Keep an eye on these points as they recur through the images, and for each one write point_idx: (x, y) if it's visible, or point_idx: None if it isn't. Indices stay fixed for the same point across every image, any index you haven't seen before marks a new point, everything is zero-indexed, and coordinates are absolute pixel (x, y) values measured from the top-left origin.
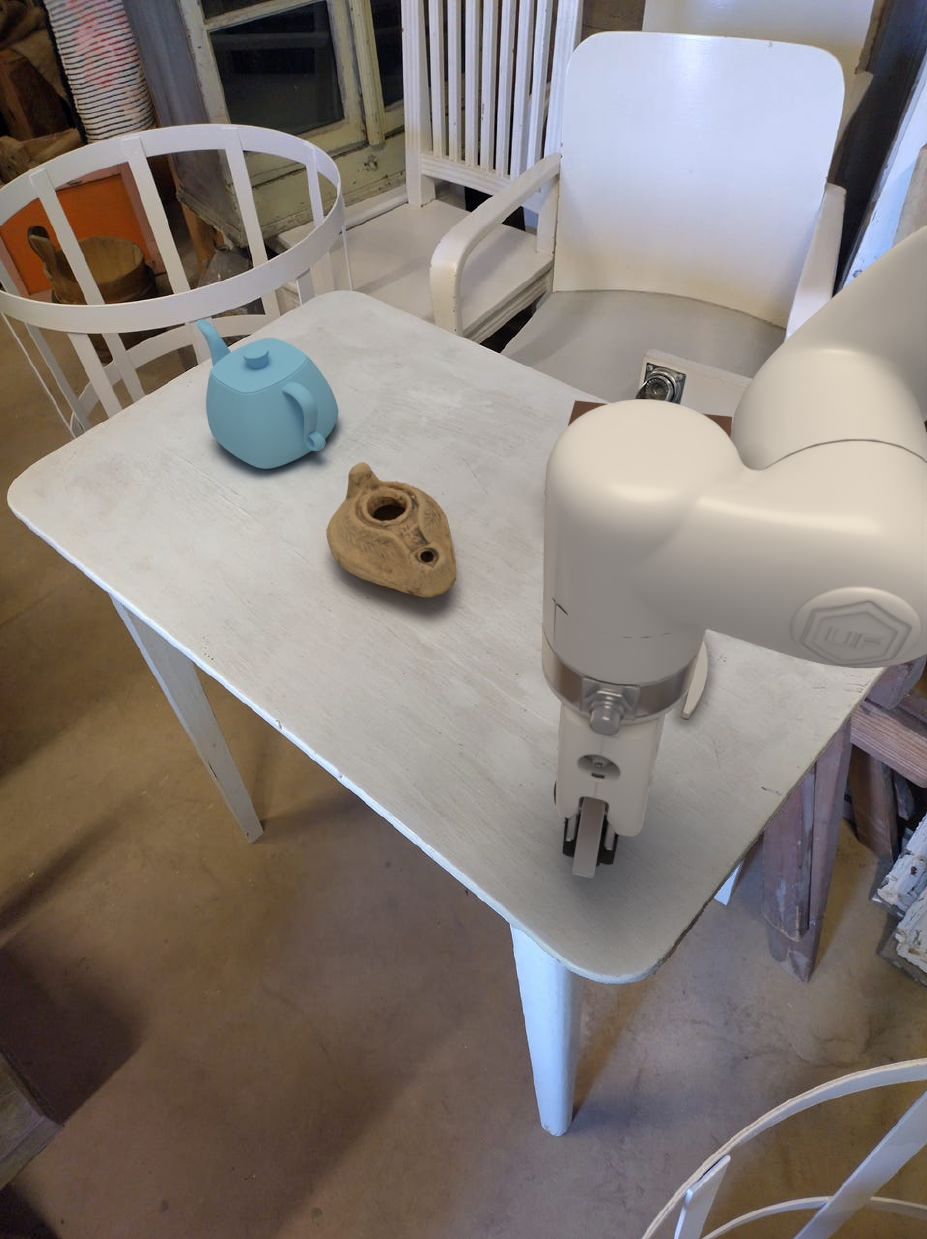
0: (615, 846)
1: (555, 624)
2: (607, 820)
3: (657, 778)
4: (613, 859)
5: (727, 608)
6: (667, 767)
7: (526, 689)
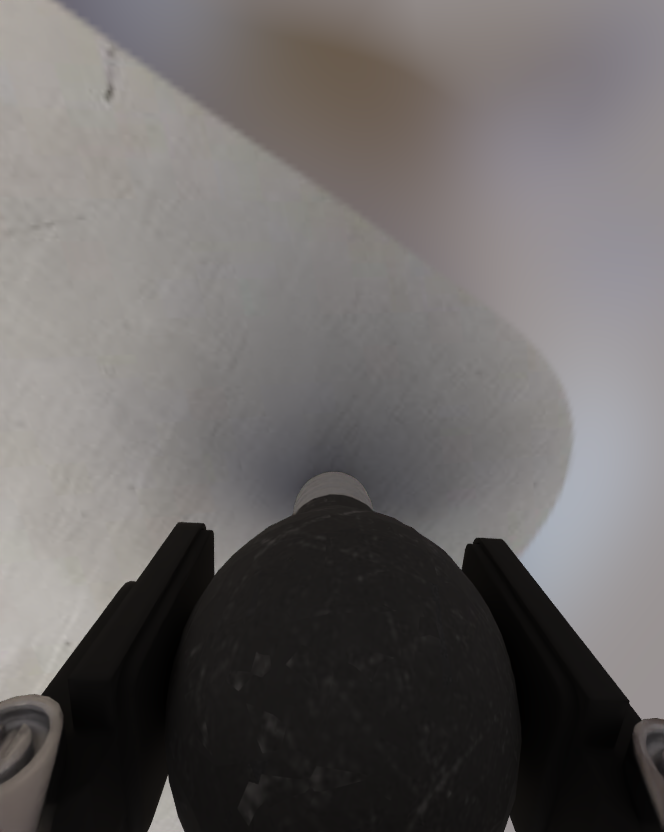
0: (575, 636)
1: None
2: (517, 724)
3: (154, 370)
4: (515, 558)
5: None
6: (118, 348)
7: (16, 648)
